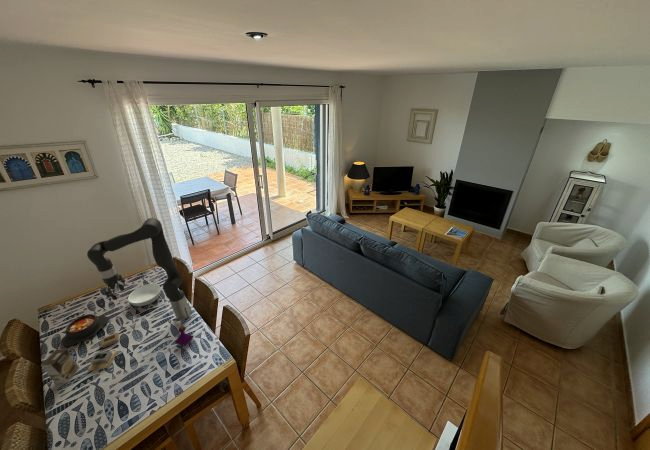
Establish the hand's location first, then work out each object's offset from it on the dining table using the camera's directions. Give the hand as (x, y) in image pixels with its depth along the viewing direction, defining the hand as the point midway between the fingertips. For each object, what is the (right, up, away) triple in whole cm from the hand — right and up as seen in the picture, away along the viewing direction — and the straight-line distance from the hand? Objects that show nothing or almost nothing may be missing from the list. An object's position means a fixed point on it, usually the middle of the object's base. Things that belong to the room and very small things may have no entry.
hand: (119, 294), depth 161 cm
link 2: (-2, -36, -10) cm, 37 cm away
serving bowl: (-6, -14, +35) cm, 38 cm away
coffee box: (-15, -41, -17) cm, 47 cm away
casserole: (-29, -27, +9) cm, 41 cm away
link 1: (-7, -31, +2) cm, 31 cm away
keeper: (-2, -37, -9) cm, 38 cm away
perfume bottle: (+41, -31, +2) cm, 51 cm away
